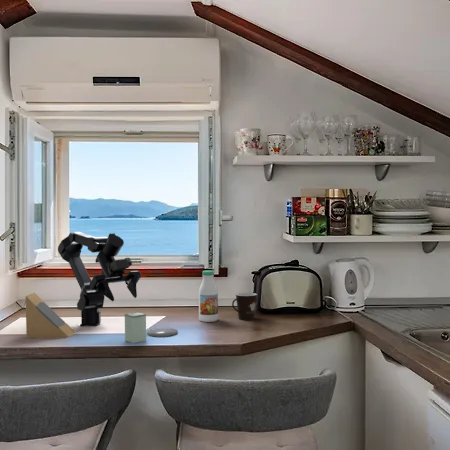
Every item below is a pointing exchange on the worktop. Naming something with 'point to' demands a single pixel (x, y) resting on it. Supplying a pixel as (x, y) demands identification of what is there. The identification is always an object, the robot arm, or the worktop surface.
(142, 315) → the pale green block
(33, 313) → the sandwich container
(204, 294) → the milk bottle
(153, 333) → the coaster
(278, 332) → the worktop surface
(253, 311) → the coffee mug
